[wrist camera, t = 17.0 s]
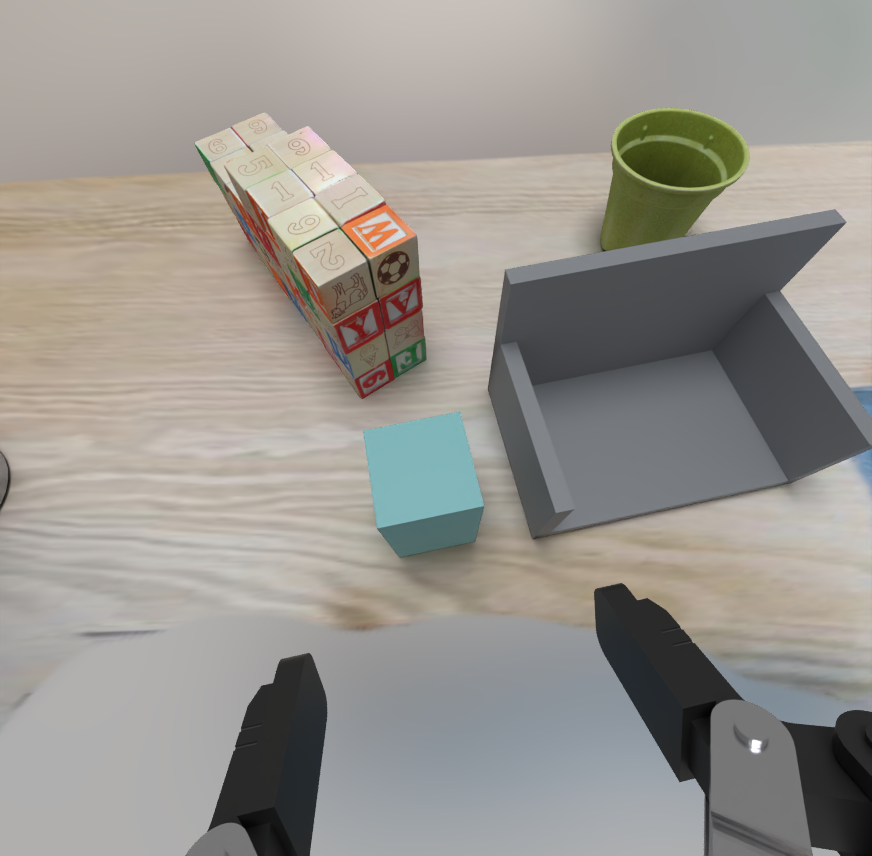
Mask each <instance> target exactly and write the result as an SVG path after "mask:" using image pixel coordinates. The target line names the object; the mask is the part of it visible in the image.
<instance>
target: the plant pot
mask: <svg viewBox="0 0 872 856" xmlns="http://www.w3.org/2000/svg"><path fill="white" fill-rule="evenodd" d="M611 151H612V156H613V163H612V169H613V177H612V182H611V187H610V193H609V198H608V203H607V208H606V213H605V218H604V222H603V227H602V233H601V238H600V241H601V246H602V248H603V249H604V250H606V251H610V250H616V249H621V248H627V247H632V246H638V245H643V244H649V243H654V242H660V241H665V240H670V239H676V238H681V237H684V235H685V234H686V233H687V231H688V230H689V229H690V228H691V226H692V225H693V224H694V222H695V221H696V220H697V219H698V217H699V216H700V215H701V214H702V212H703V211H704V210H705V209H706V207H707V206H708V205H709V204H710V202H711V201H712V200H713V199H714V198H716V197H717V196H718V195H719V194H721V193H722V191H723V190H724V189H725V188H726V187H728V186H730V185H731V184H733V183H734V182H736V181H737V180H738V179H739V178H740V177H741V176H742V175H743V173H744V172H745V170H746V169H747V166H748V164H749V161H750V155H749V148H748V146H747V144H746V142H745V141H744V139H743V137H742V136H741V135H740V134H739V133H738V132H737V131H736V130H735V129H734V128H732V127H731V126H730V125H729V124H727V123H725V122H723V121H722V120H719V119H717V118H714V117H712V116H710V115H707V114H705V113H702V112H698V111H694V110H685V109H679V108H669V109H668V108H660V109H653V110H648V111H644V112H641V113H638V114H635V115H633V116H631V117H629V118H627V119H626V120H625V121H623V122H622V123H621V124H620V125H619V126H618V127H617V129H616V130H615V132H614V134H613V137H612V141H611Z"/></svg>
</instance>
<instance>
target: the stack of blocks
mask: <svg viewBox="0 0 872 856" xmlns="http://www.w3.org/2000/svg"><path fill="white" fill-rule="evenodd" d="M194 144H195V146H196V148H197V150H198V151H199V154H200V155H201V157H202V159H203V161H204V163H205V165H206V167H207V168H208V170H209V172H210V174H211V176H212V177H213V179H214V181H215V182H216V183H217V185H218V186H219V188H220V190H221V191H222V193H223V195H224V197H225V199H226V201H227V203H228V205H229V206H230V208H231V210H232V212H233V213H234V215H235V216H236V218H237V220H238V222H239V224H240V226H241V228H242V230H243V231H244V233H245V235H246V237H247V238H248V240H249V242H250V243H251V244H252V246H253V247H254V248H255V250H256V251H257V252H258V254H259V256H260V257H261V259H262V261H263V262H264V263H265V265H266V266H267V268H268V269H269V270H270V272H271V273H272V275H273V276H274V277H275V278H276V280H277V282H278V283H279V284H280V286H281V287H282V289H283V290H284V291H285V293H286V294H287V296H288V297H289V298H290V299H291V300H292V301H293V302H294V304H295V305H296V307H297V308H298V309H299V311H300V312H301V314H302V315H303V316H304V318H305V319H306V321H307V322H308V323H309V324H310V326H311V327H312V329H313V330H314V331H315V333H316V334H317V336H318V337H319V338H320V340H321V341H322V342H323V344H324V346H325V348H326V349H327V351H328V352H329V354H330V355H331V356H332V358H333V359H334V361H335V362H336V364H337V365H338V366H339V368H340V369H341V371H342V372H343V374H344V375H345V377H346V378H347V380H348V381H349V383H350V384H351V385H352V387H353V388H354V390H355V391H356V392H357V394H358V395H359V397H360V398H361V399H363V398H365V397H366V396H368V395H369V394H371V393H373V392H374V391H376V390H378V389H379V388H381V387H383V386H384V385H386V384H387V383H389V382H391V381H392V380H394V379H395V378H396V377H398V376H400V375H401V374H403V373H405V372H406V371H408V370H410V369H411V368H413V367H415V366H416V365H418V364H419V363H421V362H423V361H425V360H426V343H425V336H424V329H423V316H422V310H421V309H422V307H423V302H422V288H421V278H420V276H419V257H418V241H417V234H416V233H415V232H414V231H413V230H412V229H411V228H410V227H409V226H408V225H407V224H406V223H405V222H404V221H403V220H402V219H401V218H400V217H399V216H398V215H397V214H396V213H395V212H394V211H393V210H392V209H391V208H390V207H389V206H388V205H386V202H385V199H384V198H383V197H382V196H381V195H380V194H379V193H378V192H377V191H376V190H375V189H373V188H372V187H371V186H370V185H369V184H368V183H367V182H366V181H365V180H364V179H363V178H362V177H361V176H360V175H358V173H357V171H355V170H354V169H353V167H351V166H350V165H349V164H348V163H347V162H346V161H345V160H344V159H343V158H342V157H341V156H340V155H339V154H338V153H337V152H336V151H333V150H331V148H330V146H329V145H327V144H326V143H325V142H324V141H323V140H322V139H321V138H320V137H319V136H318V135H317V134H316V133H315V132H314V131H313V130H312V129H311V128H310V127H308V126H307V127H305V128H302V129H300V130H298V131H296V132H294V133H291V134H290V135H288V134H287V133H286V132H285V131H283V130H282V129H281V128H280V127H279V126H278V125H277V124H276V122H275V121H274V120H273V119H272V118H271V117H270V116H269V115H268V114H267V113H262V114H259V115H257V116H255V117H253V118H250V119H248V120H245V121H243V122H240V123H238V124H236V125H233V126H232V127H231V128H228V129H226V130H224V131H221V132H218V133H216V134H214V135H211V136H209V137H207V138H204V139H202V140H199V141H197V142H195V143H194Z"/></svg>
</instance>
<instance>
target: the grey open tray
mask: <svg viewBox="0 0 872 856" xmlns="http://www.w3.org/2000/svg"><path fill="white" fill-rule="evenodd" d="M845 223H846V221H845V220H844V219H843V218H842V216H841V215H840V214H839V213H838V212H837V211H836V210H835V209H834V210H829V211H824V212H818V213H813V214H807V215H802V216H796V217H791V218H785V219H780V220H774V221H769V222H763V223H758V224H752V225H747V226H742V227H736V228H731V229H725V230H720V231H714V232H709V233H703V234H698V235H692V236H687V237H681V238H676V239H670V240H665V241H660V242H654V243H649V244H643V245H638V246H632V247H627V248H621V249H616V250H610V251H605V252H599V253H594V254H588V255H583V256H578V257H572V258H567V259H561V260H556V261H550V262H545V263H539V264H534V265H528V266H523V267H517V268H512V269H506V270H505V275H504V282H503V288H502V295H501V302H500V309H499V316H498V323H497V330H496V336H495V343H494V350H493V357H492V364H491V371H490V378H489V385H488V391H489V395H490V398H491V401H492V405H493V408H494V411H495V415H496V418H497V422H498V425H499V428H500V432H501V435H502V438H503V442H504V445H505V448H506V452H507V455H508V459H509V462H510V465H511V469H512V472H513V475H514V479H515V482H516V486H517V489H518V492H519V496H520V499H521V502H522V506H523V509H524V512H525V516H526V519H527V523H528V526H529V529H530V533H531V536H532V539H535V538H540V537H544V536H549V535H553V534H558V533H562V532H567V531H572V530H576V529H581V528H585V527H590V526H595V525H599V524H604V523H608V522H613V521H618V520H622V519H627V518H631V517H636V516H641V515H645V514H650V513H654V512H659V511H664V510H668V509H673V508H677V507H682V506H687V505H691V504H696V503H700V502H705V501H710V500H714V499H719V498H723V497H728V496H733V495H737V494H742V493H746V492H751V491H756V490H760V489H765V488H769V487H774V486H779V485H783V484H788V483H792V482H794V481H797V480H799V479H802V478H804V477H806V476H809V475H811V474H813V473H816V472H818V471H820V470H823V469H825V468H827V467H830V466H832V465H834V464H837V463H839V462H841V461H844V460H846V459H849V458H851V457H853V456H856V455H858V454H860V453H863V452H865V451H867V450H870V449H872V418H871V417H870V416H869V414H868V413H867V411H866V410H865V409H864V407H863V406H862V404H861V403H860V402H859V400H858V399H857V398H856V396H855V395H854V393H853V392H852V391H851V389H850V388H849V386H848V385H847V384H846V382H845V381H844V379H843V378H842V377H841V375H840V374H839V372H838V371H837V370H836V368H835V367H834V365H833V364H832V363H831V361H830V360H829V359H828V357H827V356H826V354H825V353H824V352H823V350H822V349H821V347H820V346H819V345H818V343H817V342H816V340H815V339H814V338H813V336H812V335H811V333H810V332H809V331H808V329H807V328H806V326H805V325H804V324H803V322H802V321H801V320H800V318H799V317H798V315H797V314H796V313H795V311H794V310H793V308H792V307H791V306H790V304H789V303H788V301H787V300H786V299H785V297H784V296H783V294H782V293H781V292H780V290H781V289H782V288H783V287H784V286H785V285H786V284H787V283H788V282H789V281H790V280H791V279H792V278H793V277H794V276H795V275H796V274H797V273H798V272H799V271H800V270H801V269H802V268H803V267H804V266H805V265H806V263H807V262H808V261H809V260H810V259H811V258H812V257H813V256H814V255H815V254H816V253H817V252H818V251H819V250H820V249H821V248H822V247H823V246H824V245H825V244H826V243H827V242H828V241H829V240H830V239H831V238H832V237H833V236H834V235H835V234H836V233H837V232H838V231H839V230H840V229H841V228H842V226H843V225H844V224H845Z"/></svg>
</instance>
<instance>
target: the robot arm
mask: <svg viewBox="0 0 872 856" xmlns="http://www.w3.org/2000/svg"><path fill="white" fill-rule="evenodd" d="M7 483H8V467H7V464H6V461H5V458H4V457H3V455H2V454H1V453H0V504H1V502H2V500H3V497H4V495H5V492H6V488H7ZM594 600H595V619H596V632H597V637H598V640H599V643H600V646H601V648H602V651H603V653H604V655H605V656H606V658H607V660H608V661H609V663H610V665H611V667H612V668H613V670H614V672H615V673H616V675H617V677H618V678H619V680H620V682H621V683H622V685H623V687H624V689H625V690H626V692H627V694H628V695H629V697H630V699H631V700H632V702H633V704H634V705H635V707H636V709H637V710H638V712H639V714H640V716H641V717H642V719H643V721H644V722H645V724H646V726H647V728H648V729H649V731H650V733H651V734H652V736H653V738H654V739H655V741H656V743H657V744H658V746H659V748H660V750H661V751H662V753H663V755H664V756H665V758H666V760H667V761H668V763H669V765H670V766H671V768H672V770H673V772H674V773H675V775H676V777H677V778H678V780H679V782H682V781H686V780H690V779H694V778H695V779H696V780H697V782H698V783H699V785H700V787H701V788H702V790H703V792H704V793H705V801H704V802H705V803H704V808H705V809H704V856H813V854H812V849H811V847H816V848H822V849H829V850H835V851H837V852H838V853H839V854H840V856H872V712H869V711H863V710H852V711H847V712H844V713H843V714H841V715H840V716H839V717H838V719H837V721H836V725H835V727H824V726H814V725H803V724H793V723H787V722H784V721H780V720H778V719H777V718H776V717H775V716H774V715H772V714H771V713H770V712H768V711H767V710H765V709H763V708H762V707H760V706H758V705H755V704H753V703H750V702H747V701H745V700H743V699H742V698H741V697H740V696H739V695H738V693H737V692H736V691H735V690H734V689H733V688H732V687H731V685H730V684H729V683H728V682H727V681H726V679H725V678H724V677H723V676H722V675H721V674H720V672H719V671H718V670H717V669H716V668H715V667H714V665H713V664H712V663H711V662H710V661H709V660H708V658H707V657H706V656H705V655H704V654H703V653H702V651H701V650H700V649H699V648H698V647H697V646H696V644H695V643H693V642H692V640H691V638H690V637H689V636H688V635H687V634H686V633H685V631H684V630H681V628H680V626H679V624H678V623H677V622H676V621H675V620H674V619H673V617H672V616H671V615H670V614H669V613H668V612H667V610H665V609H663V608H662V607H660V606H659V605H657V604H656V603H654V602H653V601H651V600H649V599H648V598H646V599H642V600H638V601H637V600H636V598H635V597H634V596H633V595H632V593H631V592H630V591H629V590H628V588H627V587H626V586H625V585H624V584H622V583H619V584H615V585H611V586H606V587H602V588H597V589H595V591H594ZM326 722H327V700H326V695H325V691H324V688H323V685H322V682H321V680H320V677H319V674H318V671H317V669H316V666H315V663H314V660H313V658H312V656H311V654H310V653H307V654H302V655H298V656H294V657H289V658H285V659H281V660H280V662H279V664H278V667H277V671H276V674H275V679H274V682H273V683H272V684H268V685H263V686H261V688H260V689H259V690H258V692H257V694H256V695H255V696H254V698H253V699H252V701H251V702H250V704H249V705H248V707H247V711H246V714H245V717H244V720H243V723H242V726H241V732H240V733H239V736H238V739H237V742H236V745H235V747H236V749H235V751H234V752H233V755H232V758H231V761H230V764H229V768H228V771H227V774H226V777H225V780H224V783H223V786H222V790H221V793H220V796H219V799H218V802H217V806H216V809H215V812H214V815H213V818H212V821H211V824H210V827H209V829H208V831H207V833H206V834H205V835H203V836H202V837H201V838H200V839H199V840H198V841H197V842H196V843H195V844H194V845H193V846H192V847H191V849H190V850H189V851H188V853H187V854H186V856H310V848H311V840H312V832H313V824H314V817H315V808H316V800H317V793H318V785H319V777H320V769H321V761H322V754H323V746H324V738H325V730H326Z"/></svg>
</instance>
